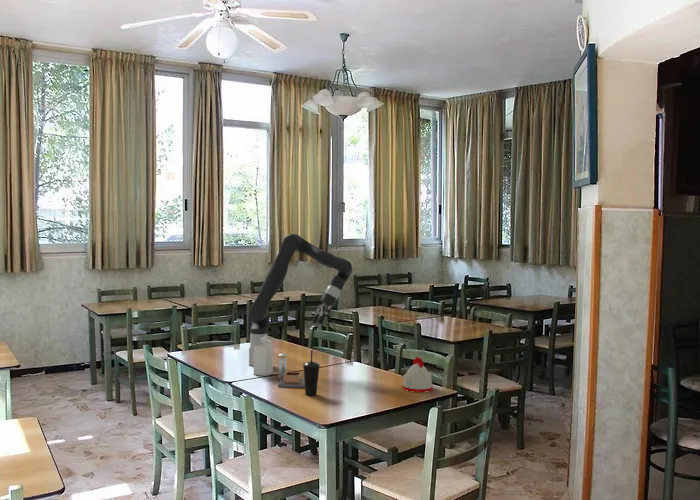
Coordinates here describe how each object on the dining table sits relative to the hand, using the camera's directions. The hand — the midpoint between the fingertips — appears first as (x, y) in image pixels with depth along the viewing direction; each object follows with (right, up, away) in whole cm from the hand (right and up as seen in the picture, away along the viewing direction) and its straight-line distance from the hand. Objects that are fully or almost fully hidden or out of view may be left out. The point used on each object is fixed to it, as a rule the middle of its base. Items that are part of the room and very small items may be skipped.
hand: (316, 323), depth 320 cm
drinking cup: (0, -27, -39) cm, 48 cm away
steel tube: (-16, -26, -10) cm, 32 cm away
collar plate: (-10, -26, -22) cm, 36 cm away
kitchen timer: (+49, -28, -25) cm, 62 cm away
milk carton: (-27, -26, -3) cm, 37 cm away
